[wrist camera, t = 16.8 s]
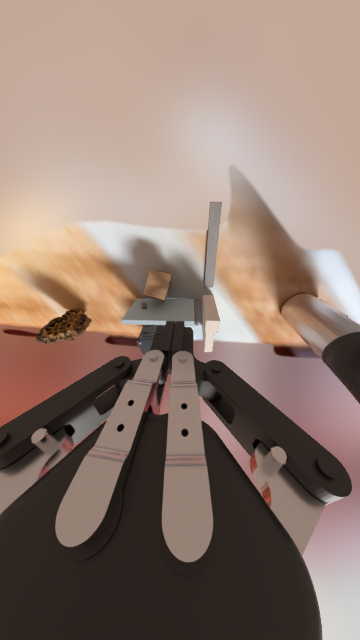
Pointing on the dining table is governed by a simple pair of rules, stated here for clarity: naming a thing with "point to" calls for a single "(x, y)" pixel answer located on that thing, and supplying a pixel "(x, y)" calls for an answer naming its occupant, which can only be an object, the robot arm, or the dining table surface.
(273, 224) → the dining table surface
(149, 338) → the small box
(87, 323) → the brown wasp nest
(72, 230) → the dining table surface
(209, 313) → the door frame
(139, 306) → the door
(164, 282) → the block
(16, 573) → the robot arm
